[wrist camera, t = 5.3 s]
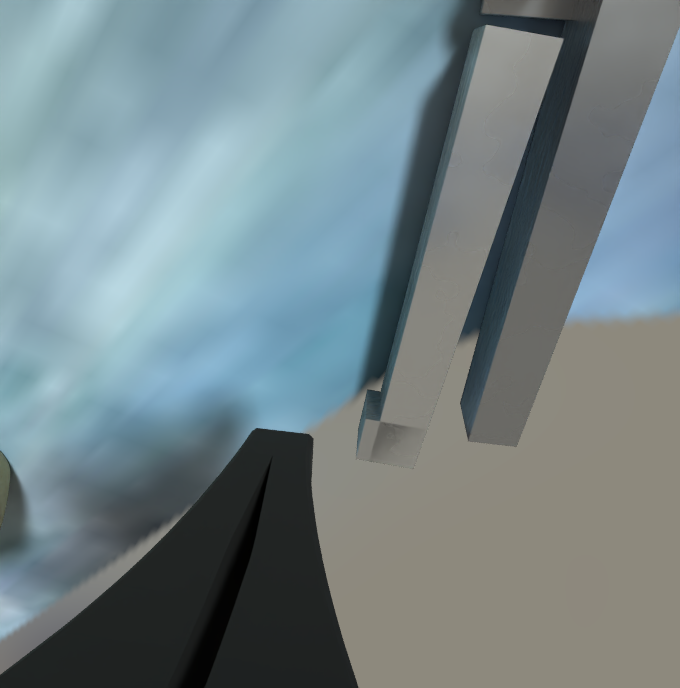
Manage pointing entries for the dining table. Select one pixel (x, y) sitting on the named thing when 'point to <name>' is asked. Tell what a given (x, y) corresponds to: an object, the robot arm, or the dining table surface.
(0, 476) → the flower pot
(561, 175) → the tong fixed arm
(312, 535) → the robot arm
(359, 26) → the dining table surface
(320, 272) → the dining table surface
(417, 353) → the tong jaw
